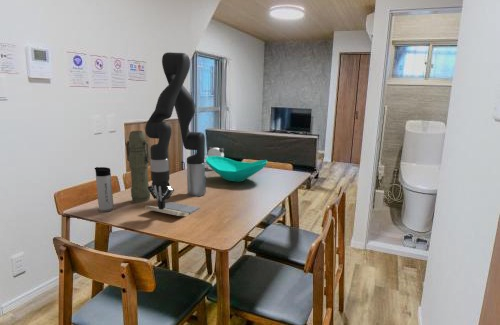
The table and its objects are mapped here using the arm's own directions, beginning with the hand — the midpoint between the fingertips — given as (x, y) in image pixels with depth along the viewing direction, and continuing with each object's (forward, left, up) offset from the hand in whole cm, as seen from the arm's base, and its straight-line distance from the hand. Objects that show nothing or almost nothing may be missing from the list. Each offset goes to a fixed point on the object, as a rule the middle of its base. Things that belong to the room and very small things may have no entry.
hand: (161, 208), depth 142 cm
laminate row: (-12, 0, -4) cm, 13 cm away
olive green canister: (-13, -25, -5) cm, 29 cm away
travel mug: (+4, -30, -5) cm, 31 cm away
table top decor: (-70, -2, -5) cm, 71 cm away
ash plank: (-3, 0, -3) cm, 4 cm away
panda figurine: (-93, -31, -5) cm, 99 cm away
